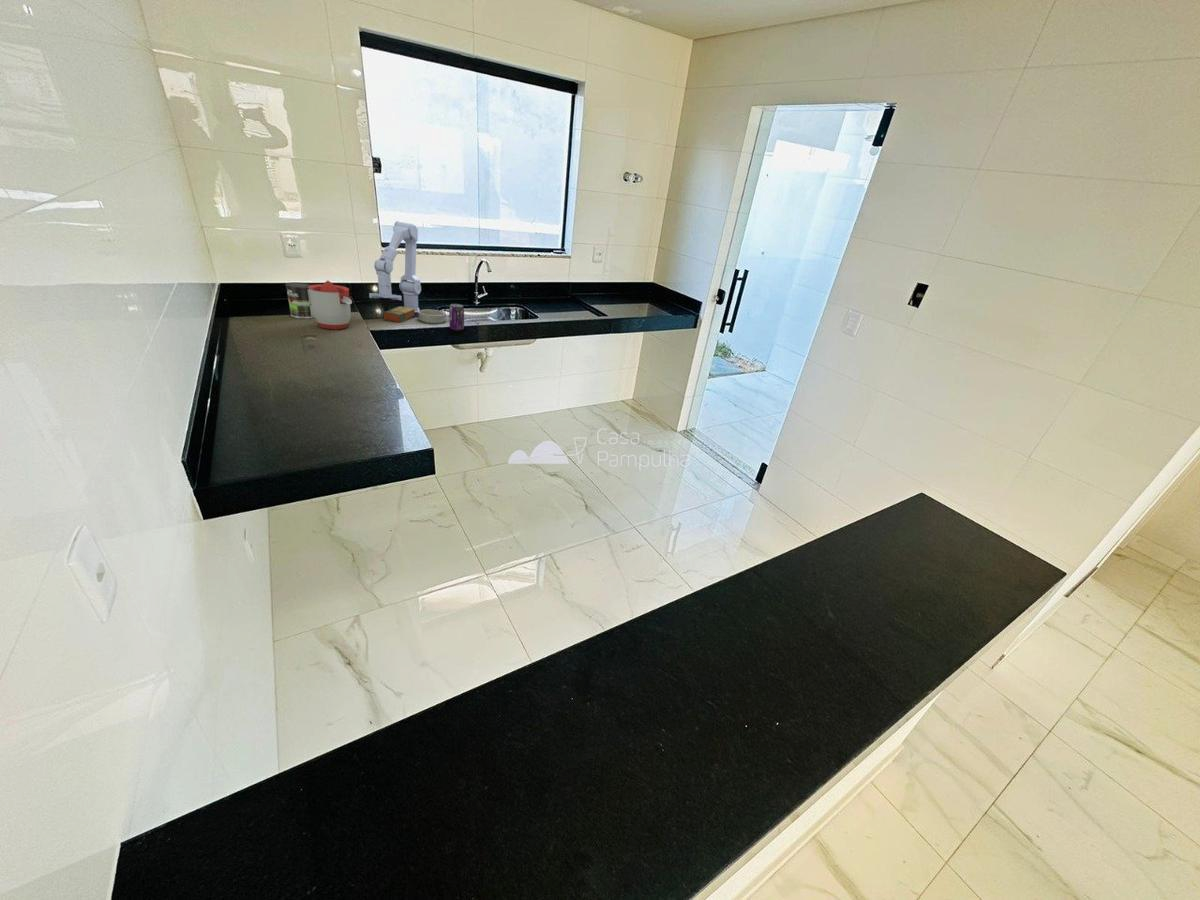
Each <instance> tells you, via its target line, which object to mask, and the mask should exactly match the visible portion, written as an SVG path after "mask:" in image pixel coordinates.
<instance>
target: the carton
mask: <svg viewBox="0 0 1200 900" xmlns="http://www.w3.org/2000/svg"><path fill="white" fill-rule="evenodd" d="M415 313H416V312H414V309H413V308H408V307H404V306H396V307H393V308H391V309H388V311H385V310H384V312H383V320H384V321H388V322H389V321H390V322H395V323H402V322H404V321H407V320H409V319H411V318H414V317H415Z"/></svg>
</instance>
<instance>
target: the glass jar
mask: <svg viewBox="0 0 1200 900" xmlns="http://www.w3.org/2000/svg"><path fill="white" fill-rule="evenodd" d="M310 285H311V284H310V283H307V282H287V283H285V288H286V292H287V293H286V294H287V299H288V306H289V312H290V317H292V318H295V319H313V318H314V319H315V317H314V314H313V311H312V306H311V299H310V292H309V288H308V287H309V286H310Z"/></svg>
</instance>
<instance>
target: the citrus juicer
mask: <svg viewBox="0 0 1200 900" xmlns="http://www.w3.org/2000/svg"><path fill="white" fill-rule="evenodd" d="M308 288H309V292H310V299H311V306H312V311H313V314H314V320H315V322H316V324H317V325H318V326H319V327H320V328H321V329H322V328H323V329H327V330H333V331H334V330H335V331H337V330H343V329H347V328H348V327H349V325H350V321H351V315H352V313H351V312H352V311H351V305H352V303H353V301H352V299H351V298H350V289H349V288H348V287H346V286H343V285H337V284H334V283H332V282H331V281H330V280H326V281H325V282H324V283H322V284H321V283H320V284H319V283H317V284H310V286H309V287H308Z"/></svg>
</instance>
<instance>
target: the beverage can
mask: <svg viewBox="0 0 1200 900" xmlns="http://www.w3.org/2000/svg"><path fill="white" fill-rule="evenodd" d="M448 310H449V312H448V315H449V316H448V317H449V318H448V319H449V320H448V322H449V323H448V324H449V329H451V330H452V331H456V332H460V331H463V330H464V329H465V308H464V305H463V304H460V303H451V304H450V305H449V309H448Z"/></svg>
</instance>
